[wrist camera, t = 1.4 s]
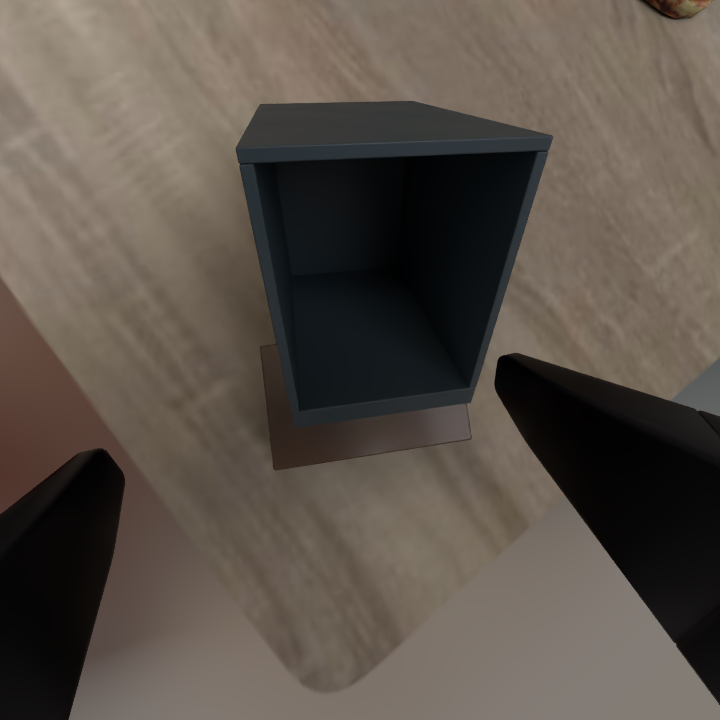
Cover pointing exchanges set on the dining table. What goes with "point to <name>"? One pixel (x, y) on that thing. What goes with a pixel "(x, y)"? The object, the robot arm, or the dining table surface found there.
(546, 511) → the dining table surface
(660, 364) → the dining table surface
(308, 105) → the bin
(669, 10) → the pastry
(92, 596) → the robot arm
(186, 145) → the dining table surface
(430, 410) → the metal block
